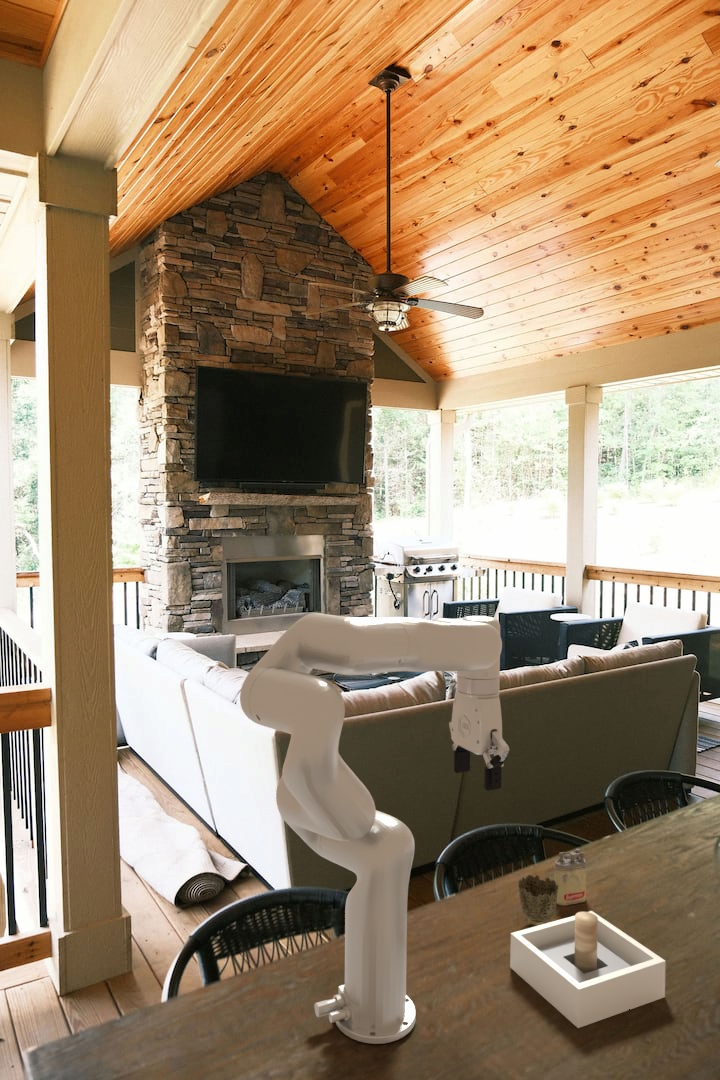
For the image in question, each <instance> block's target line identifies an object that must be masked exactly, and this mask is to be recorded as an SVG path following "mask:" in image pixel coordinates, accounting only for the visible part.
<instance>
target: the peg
mask: <svg viewBox="0 0 720 1080" xmlns="http://www.w3.org/2000/svg"><path fill="white" fill-rule="evenodd" d="M574 916H575V957H574V966H575V967H576V968H578V969H579V970H580V971H581V972H583V973H584V974H585V973H588V972H591V971H594V970H597V935H598V918H597V916H596V915H594V914H592V913H589V911H578V912H576V913H575V915H574Z"/></svg>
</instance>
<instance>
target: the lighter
mask: <svg viewBox="0 0 720 1080" xmlns="http://www.w3.org/2000/svg"><path fill="white" fill-rule="evenodd" d="M558 855H559V856H558V857H559V858H558V859H556V860H555V861H554V865H553V866H554V867H553V868H554V869H553V880H555V882H556V886H557V885H558V895H557V902H556V905H559V906H569V905H574V904H575V905H576V904H579V903H584V902H586V900H587V860H586V859H585V858H584V857H585V853H584V852H582V851H581V849H580V848H575V850H572V851H571V850H570V851H567V852H565V851H561V852H559V853H558Z"/></svg>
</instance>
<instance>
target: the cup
mask: <svg viewBox="0 0 720 1080" xmlns="http://www.w3.org/2000/svg"><path fill="white" fill-rule="evenodd" d="M517 882H518V892H519V903H520V907H521V910H522V912H523V914H524V915H525V916H526V917H527V922H528V924H529V926H531V927H535V926H538V925H542V924H546V923H549V922H548V921H549V920H550V919H551V918H553V916H554V914H555V912H556V907H557V903H556V902H557V895H558V885H557V886H556V882H555V880H554V879H553V880H551V879H550V877H549V876H547V877H545V879H544V880H543V879H540V875H536V876H535V877H534V876H533V875H531V874H528V875H527V876H526V877H524V876H522V878H521V879H519V880H518V881H517Z"/></svg>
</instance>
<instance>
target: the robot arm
mask: <svg viewBox="0 0 720 1080" xmlns="http://www.w3.org/2000/svg"><path fill="white" fill-rule="evenodd" d="M501 637H502V636H501V624H500V621H499V620H498V619H497V618H495V617H493V616H487V615H467V616H463V617H461V618H447V617H446V618H445V617H438V618H434V619H431V620H427V619H422V618H418V617H408V616H384V617H383V616H381V617H380V616H379V617H378V616H374V617H370V616H343V615H334V614H327V613H320V612H313V613H309V614H306V615H304V616H302V617H301V618H299V619H298V620H297V621H295V622H294V623H293V624H292V625H291V626H290V627H288V629H287V630H286V631H285V632H284V633H283V634H282V635H281V636H280V637H279V638H278V639H277V641H276V642H275V643H274V644H273V645H272V646H271V647H269V649H268V650H267V652H266V653H264V655H263V656H262V657H261V658H260V660H258V662H257V663H256V664H255V665H254V666H253V667H252V669H250V670H249V672H248V674H247V675H246V677H245V678H244V681H243V683H242V686H241V689H240V693H239V703H240V707H241V710H242V712H243V714H245V716H246V717H247V718H248V720H251V721H252V723H253V722H254V723H255V724H257V725H260V726H262V727H266V728H269V729H273V730H275V731H280V732H283V733H285V734H289V735H290V740H289V744H288V748H287V751H286V755H285V759H284V762H283V765H282V770H281V776H280V778H279V780H278V782H277V783H278V784H277V787H276V791H275V792H276V794H275V795H276V796H275V802H276V806H277V810H278V812H279V814H280V817H281V818H282V820H283V821H284V822H285V823H286V824H287V825H288V826H289V827H290V828H291V829H292V831H293V832H294V833H295V834H296V835H297V836H299V838H301V840H303V842H304V843H305V844H306V845H307V846H308V847H309V848H310V849H311V850H313V851H314V852H315V853H316V854H317V855H318V856H320V857H322V858H323V859H325V860H327V861H329V862H332V863H334V864H337V865H338V866H340V867H342V868H345V869H346V870H348V871H351V872H352V873H354V874H355V875H356V882H355V884H354V885H353V887H352V888H351V890H349V893H348V895H347V897H346V900H345V906H344V907H345V908H344V909H345V910H344V913H345V914H344V918H345V919H344V923H345V924H344V984H341V985H339V986H338V991H337V992H338V994H337V993H336V994H334V995H333V997H332V998H331V999H324V1000H321V1001H318V1002H314V1005H313V1007H314V1014H315V1016H316V1017H317V1018H320V1017H325V1016H327V1015H328V1020H329V1023H330V1024H333V1023H335V1024H336V1026H337V1028H338V1029H339V1030H340V1032H342V1033H343V1034H344V1035H345V1036H347V1037H348V1038H350V1039H352V1040H355V1041H357V1042H360V1043H364V1044H369V1045H370V1044H372V1045H381V1044H382V1045H383V1044H388V1043H392V1042H395V1041H398V1040H401V1039H402V1038H405V1036H406V1035H408V1034H409V1033H410V1032H412V1030H413V1028H414V1027H415V1024H416V1020H417V1019H416V1018H417V1016H416V1015H417V1011H416V1010H417V1009H416V1005H415V1004H414V1002H413V1000H411V998H410V997H409V996H408V995H407V951H408V950H407V943H408V942H407V938H408V935H407V934H408V933H407V932H408V929H407V928H408V895H409V894H408V893H409V883H410V877H411V870H412V865H413V861H414V855H415V838H414V835H413V833H412V831H411V830H410V828H409V827H408V826H407V825H406V824H405V823H404V822H403V821H401V819H400V820H399V819H398V818H397V817H394V816H392V815H390V814H387V813H385V812H383V811H379V810H377V809H376V805H375V800H374V798H373V796H372V795H371V792H370V791H369V790H368V788H367V786H366V785H364V783H363V782H362V781H361V780H360V779H359V777H358V776H357V775H356V774H355V773H354V771H353V770H352V769H351V768H350V767H349V765H348V764H347V763H346V762H345V761H344V759H343V758H342V756H341V755H340V753H339V745H340V740H341V738H340V737H341V734H342V733H341V732H342V730H343V729H342V728H343V725H344V720H345V713H346V708H345V701H344V698H343V695H342V693H341V691H340V690H339V688H338V687H337V686H336V685H335V684H334V683H333V682H331V681H330V680H328V679H326V678H324V677H321V676H319V675H315V674H311V672H312V671H313V669H315V670H320V671H323V672H329V673H334V674H336V675H337V674H338V675H344V676H362V675H372V674H373V675H374V674H383V673H384V674H385V673H395V672H411V673H413V672H414V673H415V672H416V673H417V672H418V673H421V672H422V673H423V672H424V673H425V672H428V673H429V672H456V689H455V693H454V699H453V704H452V713H451V721H449V722H448V725H449V727H448V728H449V731H450V739H451V741H452V743H453V744H452V748H451V749H452V750H453V772H454V773H456V774H459V773H465V772H466V773H467V772H469V771H470V770H471V753H472V754H475V755H478V756H479V755H481V756H483V759H484V761H485V764H486V766H485V767H484V769H483V770H484V772H483V773H484V775H483V777H484V778H483V779H484V781H483V782H484V783H483V786H484V787H483V788H484V790H485V791H489V792H490V791H495V790H500V789H501V788H502V768H503V767H504V765H505V764H504V763H506V761H507V758H508V757H507V756H508V754H509V752H510V747H509V745H508V744H507V742H506V741H505V740H504V738H503V720H502V718H503V717H502V707H501V699H500V682H501V681H500V673H501V669H500V668H501V661H500V660H501V654H502V650H503V641H502V638H501ZM491 755H493V758H491Z"/></svg>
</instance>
